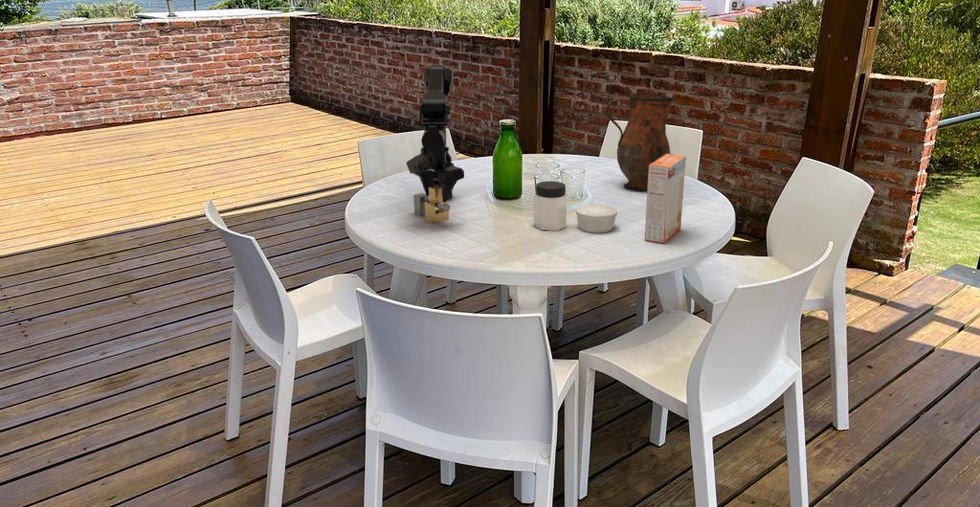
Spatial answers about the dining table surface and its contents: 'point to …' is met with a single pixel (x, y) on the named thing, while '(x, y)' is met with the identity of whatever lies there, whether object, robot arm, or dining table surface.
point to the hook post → (420, 204)
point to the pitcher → (642, 137)
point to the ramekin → (596, 218)
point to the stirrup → (430, 211)
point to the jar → (550, 206)
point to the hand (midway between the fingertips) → (436, 198)
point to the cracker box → (664, 198)
